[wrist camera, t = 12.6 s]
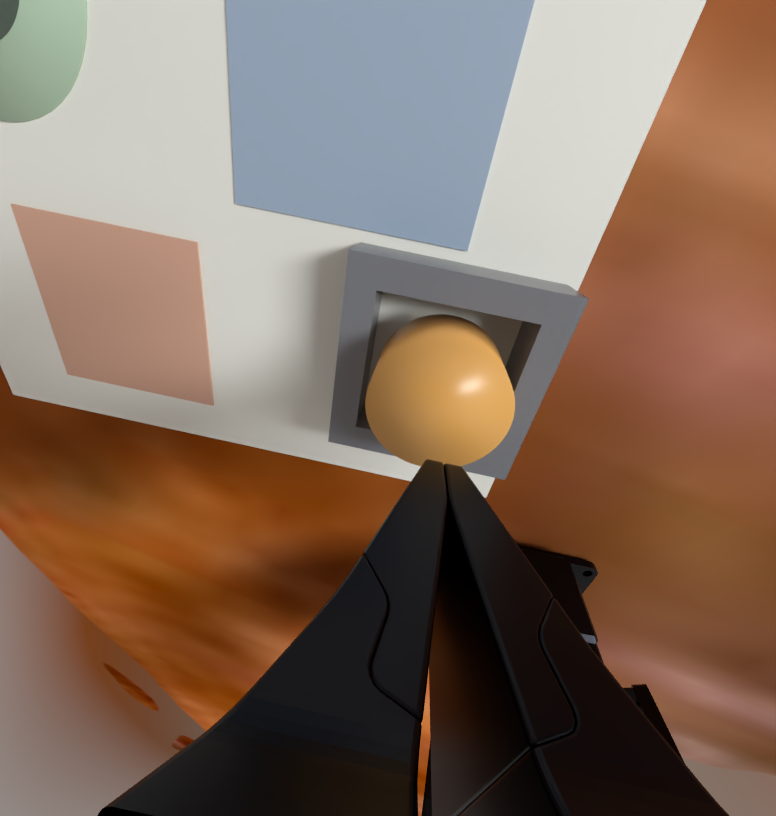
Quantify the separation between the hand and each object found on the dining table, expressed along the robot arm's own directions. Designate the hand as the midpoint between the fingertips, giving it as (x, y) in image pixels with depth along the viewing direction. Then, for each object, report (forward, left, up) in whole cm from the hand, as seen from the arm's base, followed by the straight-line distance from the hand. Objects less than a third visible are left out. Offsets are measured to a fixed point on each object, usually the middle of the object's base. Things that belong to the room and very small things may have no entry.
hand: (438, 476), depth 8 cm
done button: (0, 0, -5) cm, 5 cm away
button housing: (0, 0, -7) cm, 7 cm away
